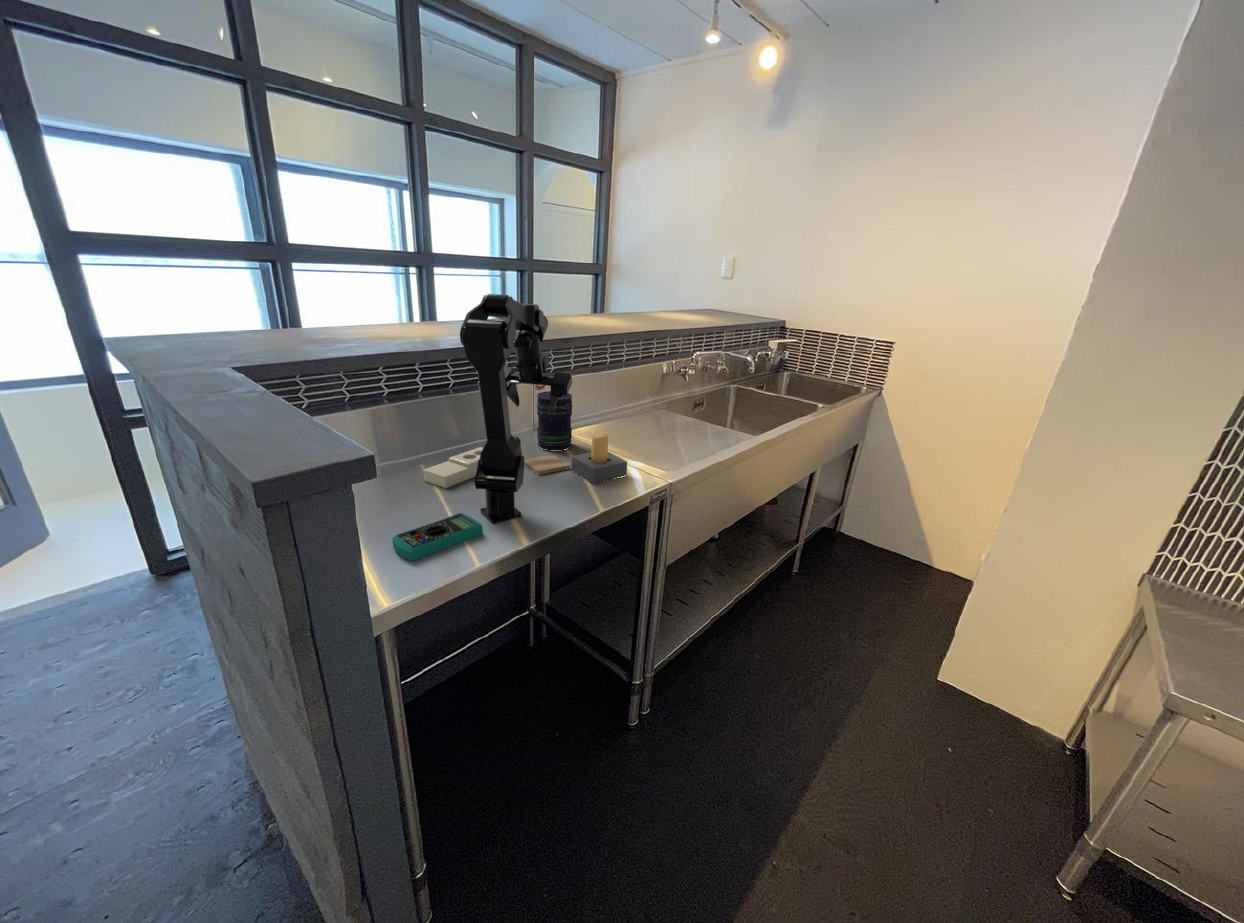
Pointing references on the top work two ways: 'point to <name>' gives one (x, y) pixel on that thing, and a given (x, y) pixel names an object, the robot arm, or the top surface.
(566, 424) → the storage jar
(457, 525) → the digital multimeter
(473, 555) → the top surface
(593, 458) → the amber plug
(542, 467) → the tan square tile
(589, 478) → the socket block
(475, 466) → the electrical outlet
